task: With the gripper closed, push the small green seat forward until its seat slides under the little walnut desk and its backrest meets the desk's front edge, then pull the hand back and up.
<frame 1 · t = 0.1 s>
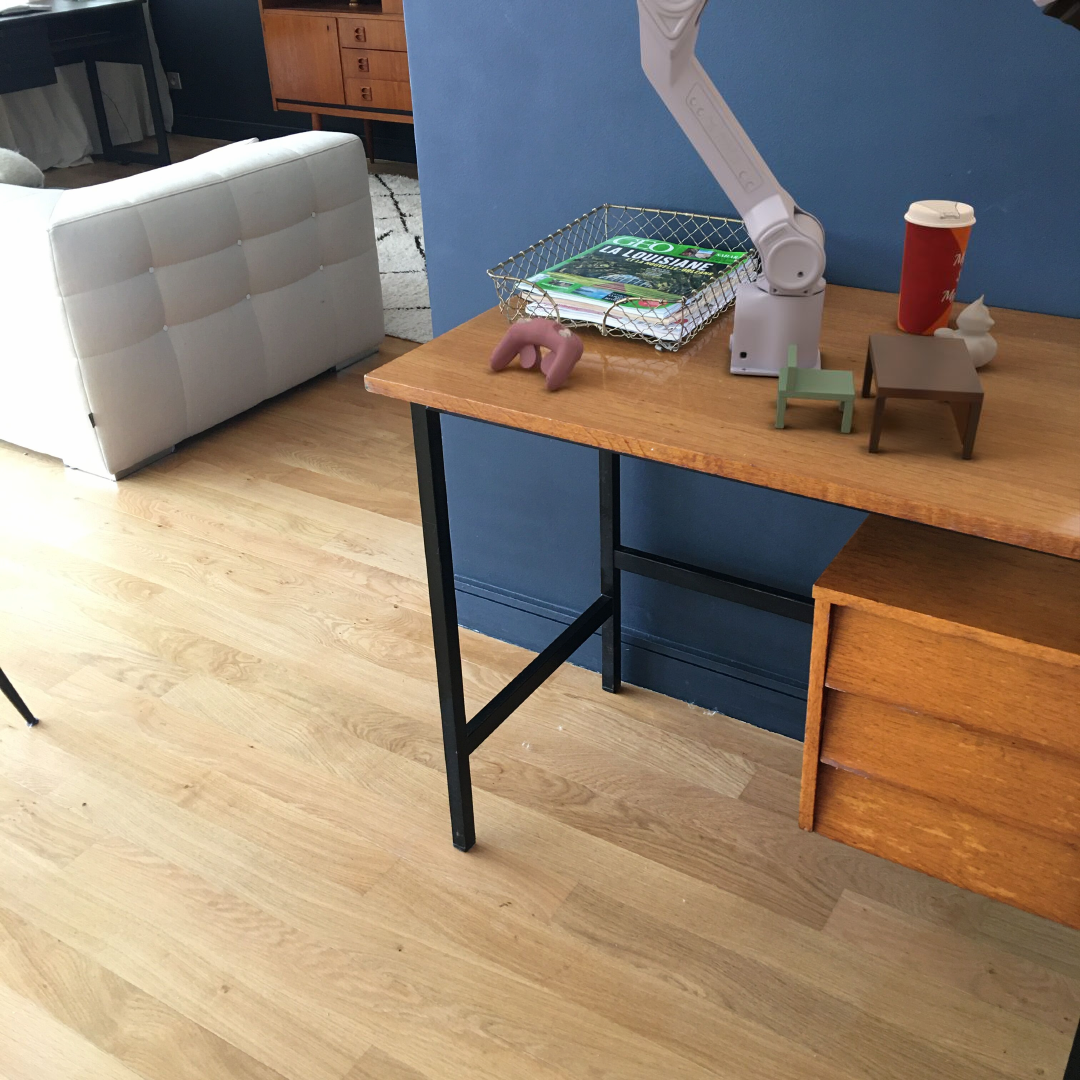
white sculpted figure: (960, 366, 119), on the table
paper cup: (921, 328, 130), on the table
green seat: (812, 418, 108), on the table
desk: (912, 424, 106), on the table
video game controller: (537, 376, 119), on the table
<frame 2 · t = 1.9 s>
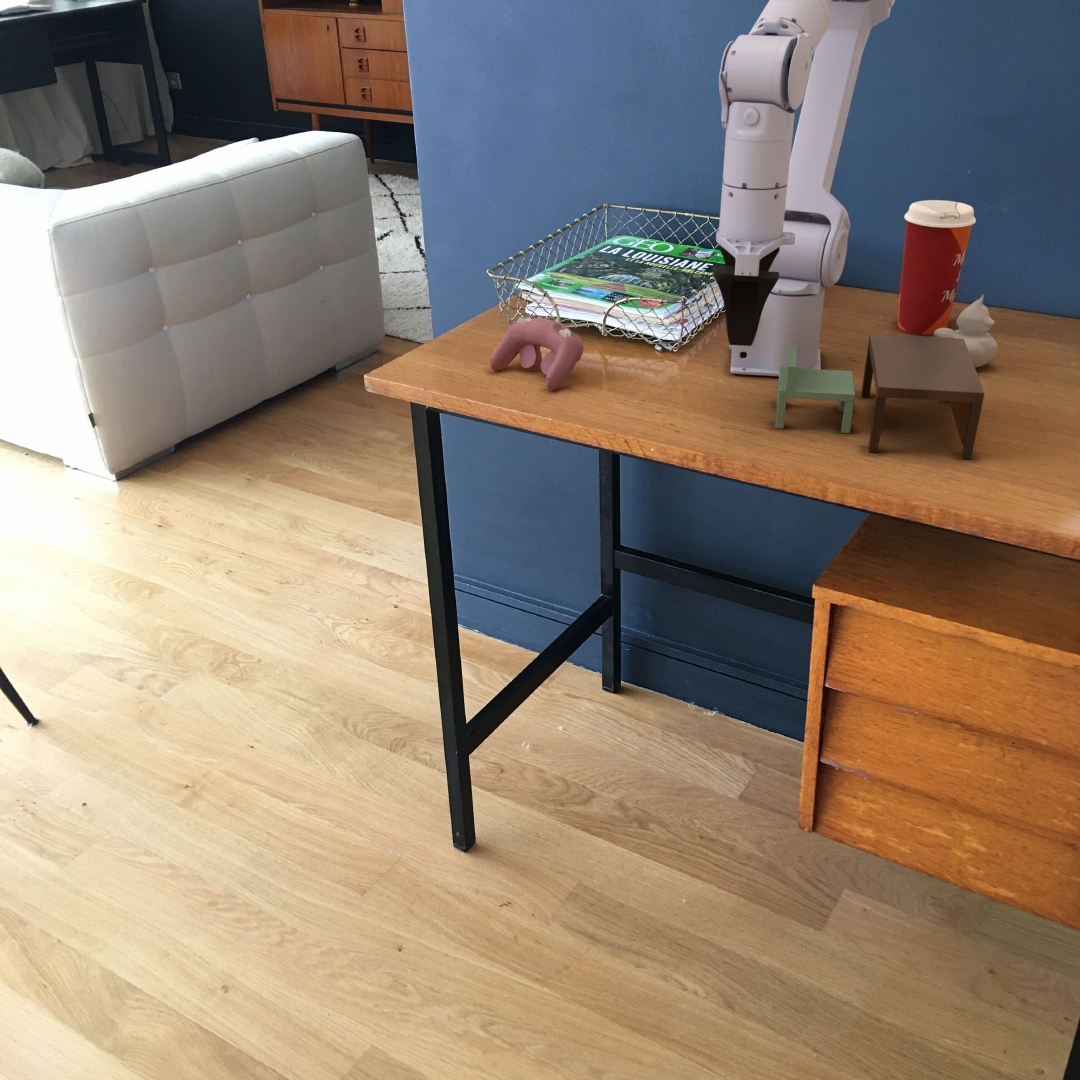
hand: (742, 331, 104), 9 cm above the table, tool pointing down, fingers open, 7 cm apart
nothing on the table moved.
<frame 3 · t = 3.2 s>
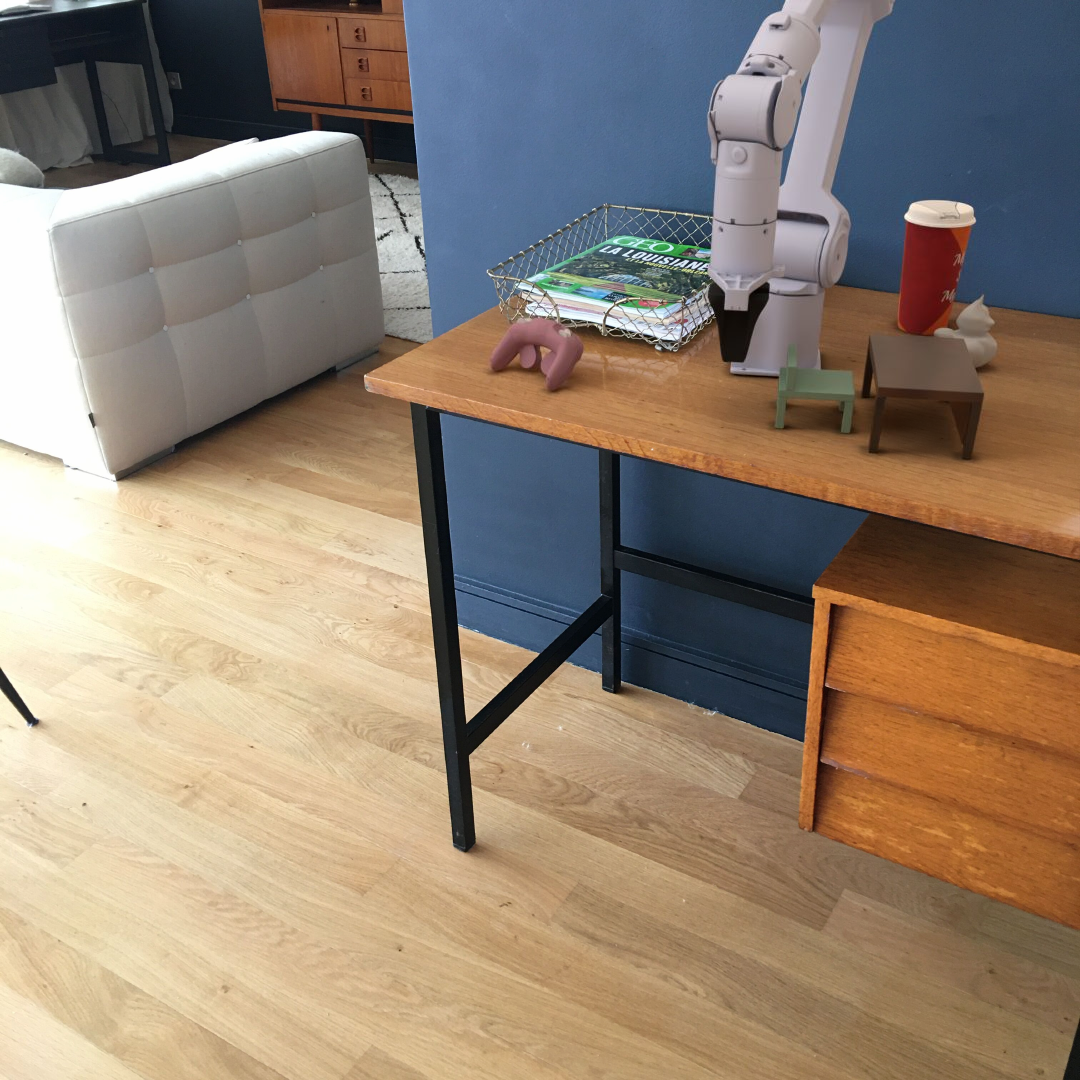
hand: (733, 359, 106), 6 cm above the table, tool pointing down, fingers closed
nothing on the table moved.
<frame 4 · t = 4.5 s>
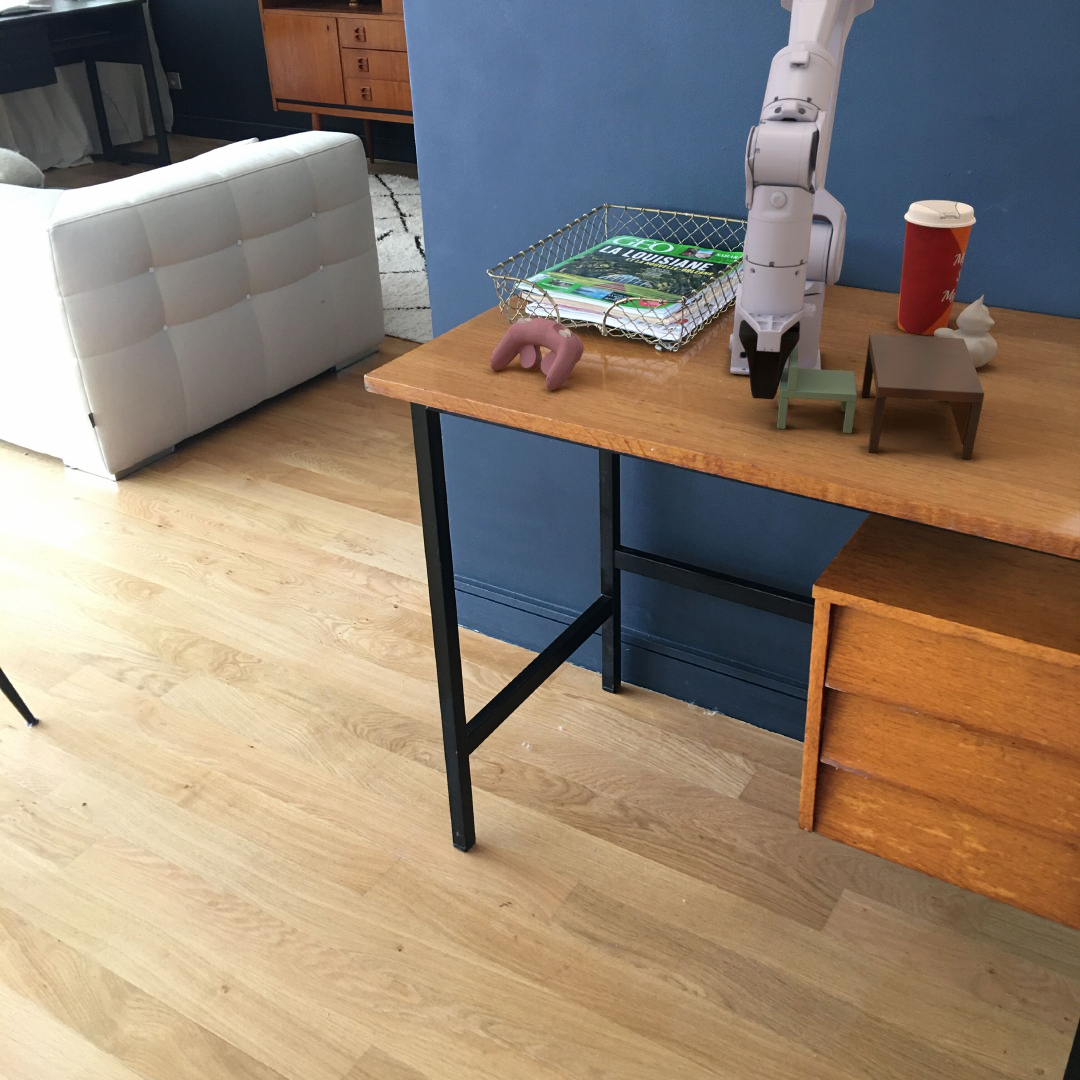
hand: (763, 396, 108), 2 cm above the table, tool pointing down, fingers closed, pressing on green seat
green seat: (813, 418, 108), on the table, touching gripper
everything else where it was.
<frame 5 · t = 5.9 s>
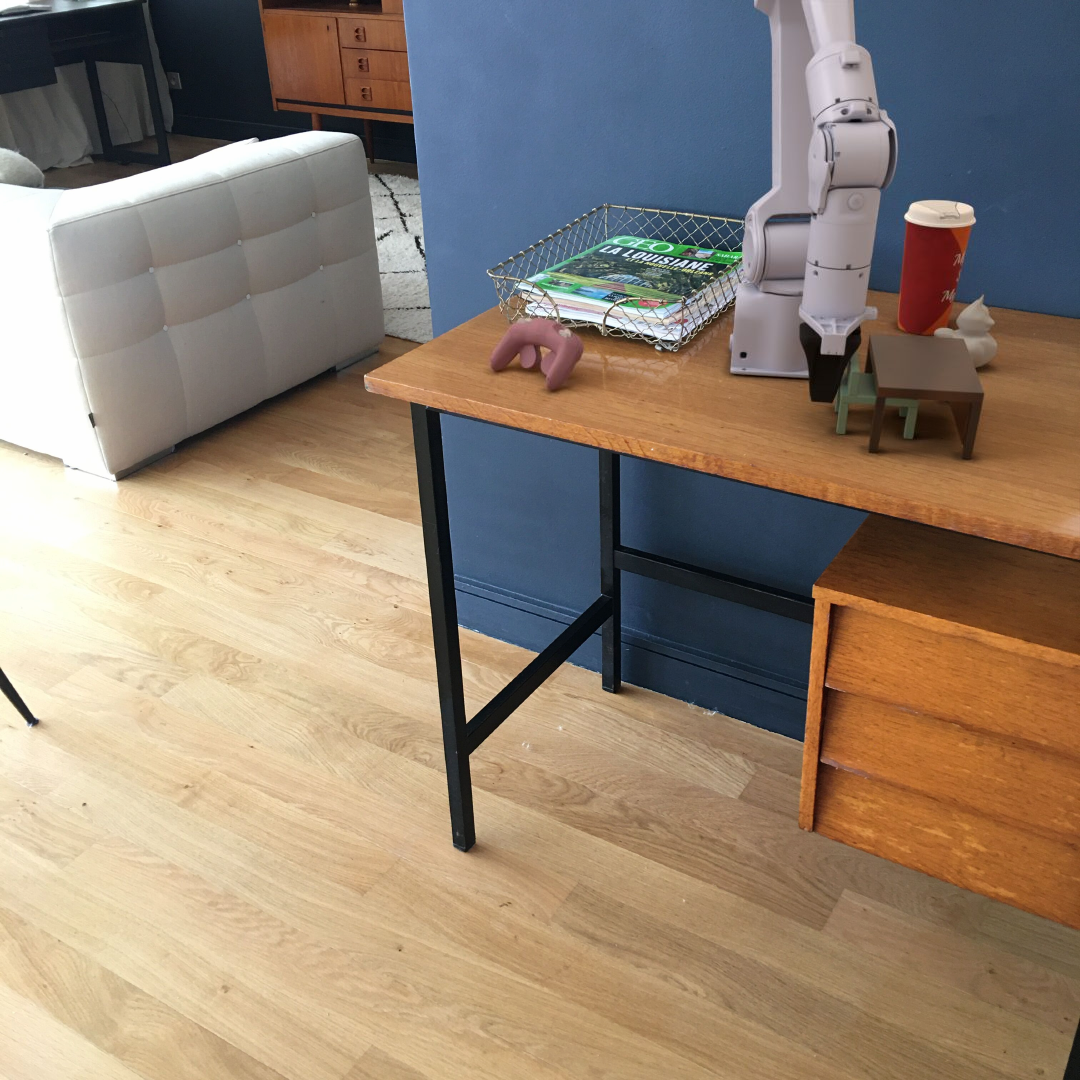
hand: (821, 399, 106), 2 cm above the table, tool pointing down, fingers closed, pressing on green seat
green seat: (872, 423, 106), on the table, touching gripper
everything else where it was.
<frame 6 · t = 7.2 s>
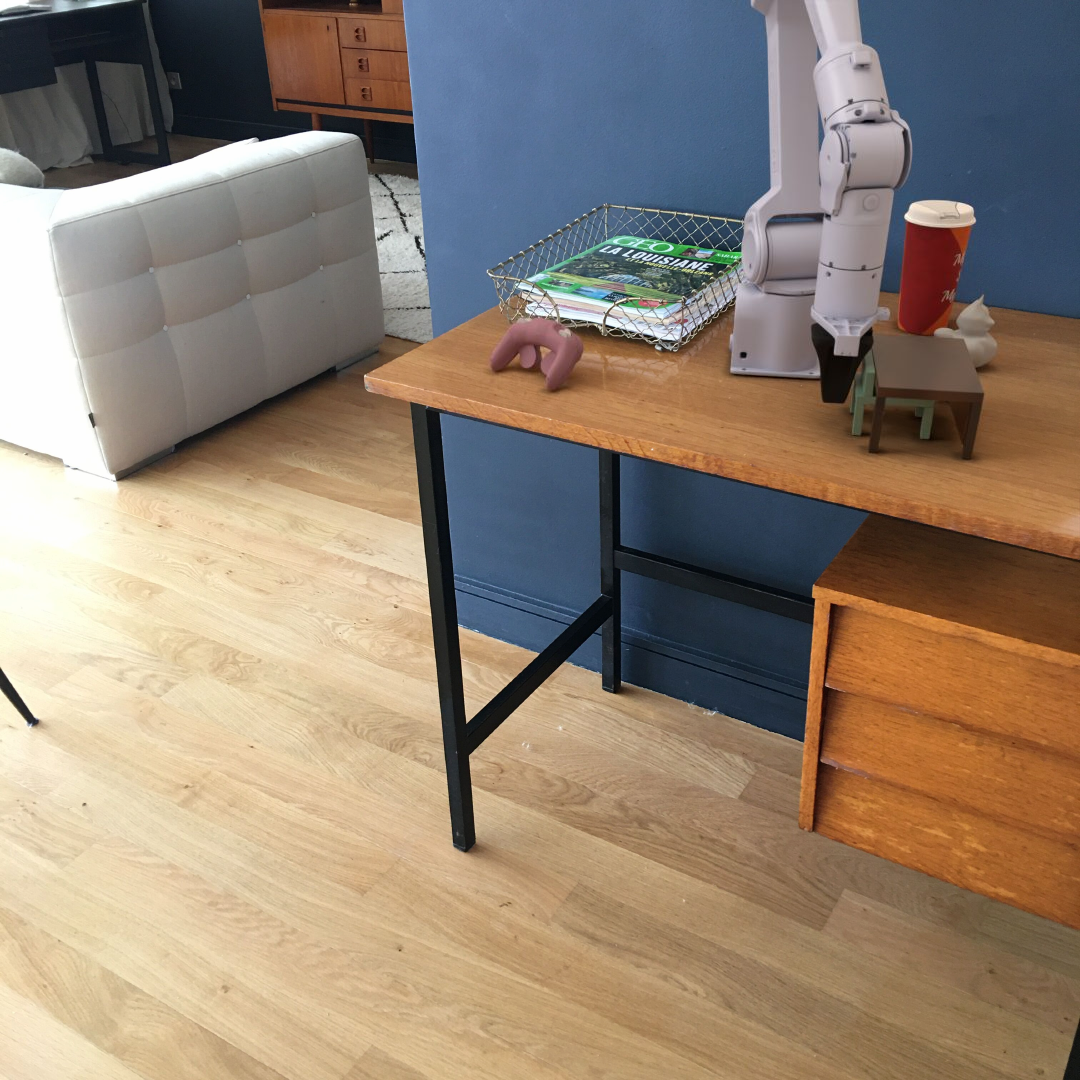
hand: (833, 400, 106), 2 cm above the table, tool pointing down, fingers closed
green seat: (888, 424, 106), on the table, touching desk
everything else where it was.
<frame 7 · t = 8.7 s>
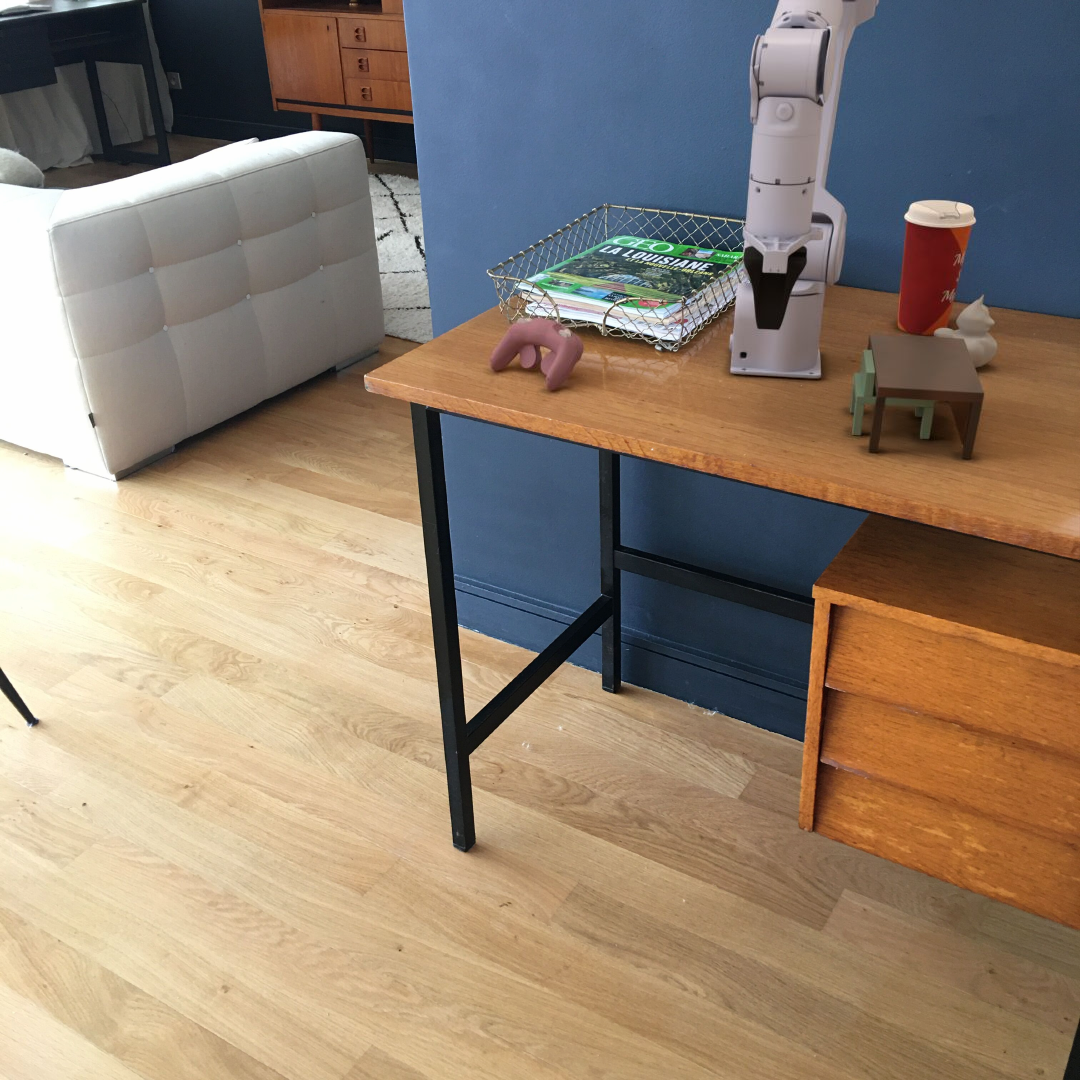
hand: (768, 327, 103), 9 cm above the table, tool pointing down, fingers closed
nothing on the table moved.
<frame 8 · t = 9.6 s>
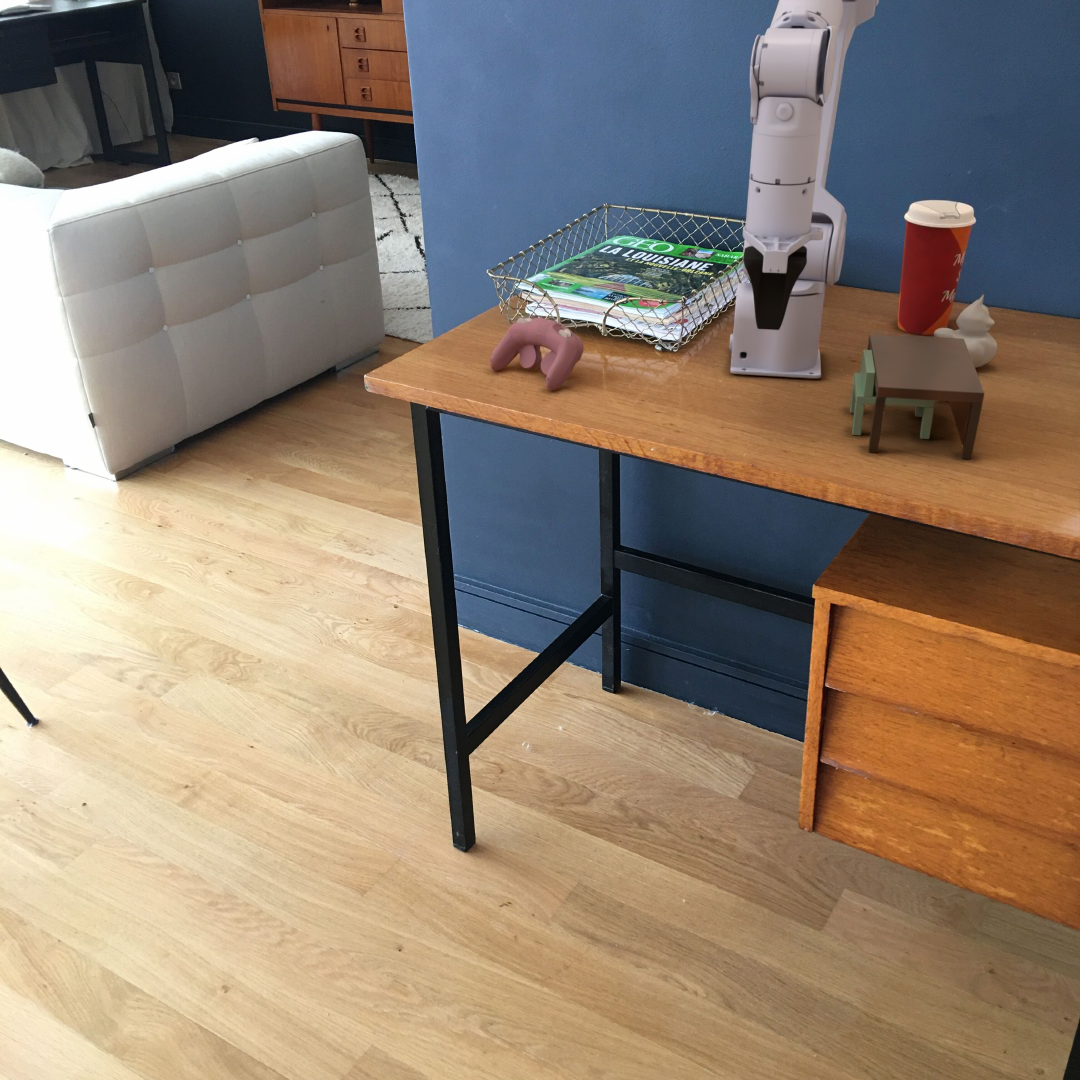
hand: (768, 327, 103), 9 cm above the table, tool pointing down, fingers closed
nothing on the table moved.
at the end: green seat 0.4 cm from the target spot on the desk, point 0.1 cm above the desk's base; green seat tilted 1° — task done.
